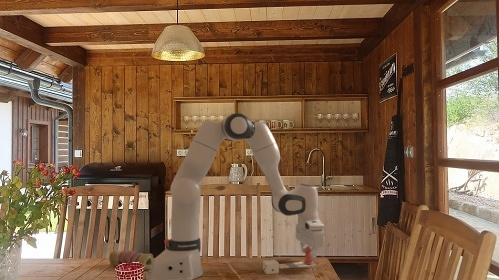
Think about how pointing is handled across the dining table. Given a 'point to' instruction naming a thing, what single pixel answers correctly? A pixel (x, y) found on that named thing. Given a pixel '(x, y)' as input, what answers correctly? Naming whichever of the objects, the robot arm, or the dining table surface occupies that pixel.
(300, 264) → the board
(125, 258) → the rolled towel
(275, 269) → the die
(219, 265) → the dining table surface
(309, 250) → the pawn
